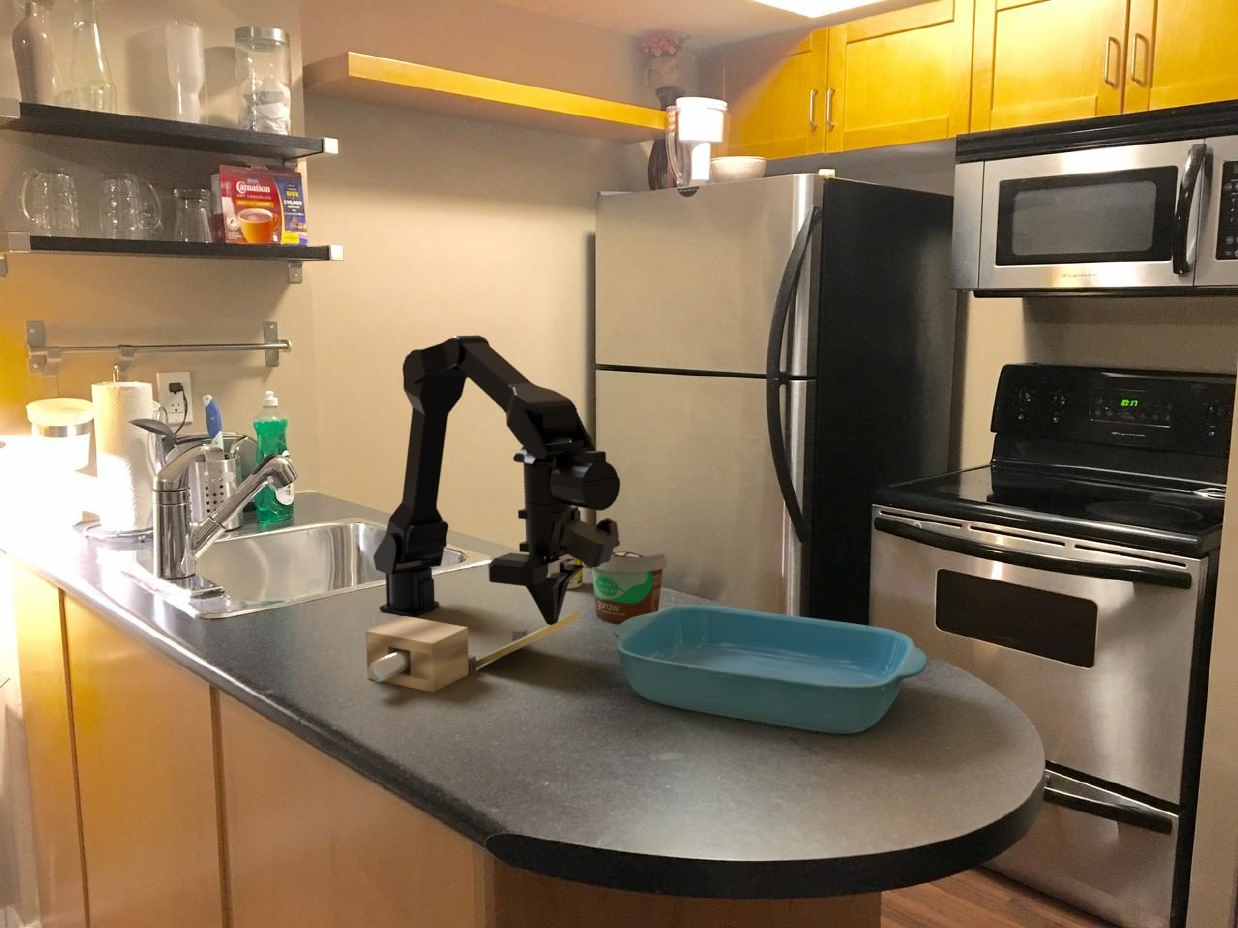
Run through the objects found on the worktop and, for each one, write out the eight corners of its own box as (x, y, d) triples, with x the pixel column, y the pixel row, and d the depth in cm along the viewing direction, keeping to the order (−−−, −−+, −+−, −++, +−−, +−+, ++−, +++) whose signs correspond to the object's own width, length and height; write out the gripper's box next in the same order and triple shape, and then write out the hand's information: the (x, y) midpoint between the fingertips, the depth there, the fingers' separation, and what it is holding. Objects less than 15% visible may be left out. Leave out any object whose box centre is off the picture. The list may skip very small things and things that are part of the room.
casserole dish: (580, 702, 122) (580, 643, 121) (656, 645, 142) (656, 594, 141) (905, 763, 106) (908, 695, 105) (938, 689, 126) (942, 632, 125)
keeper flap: (474, 668, 131) (471, 662, 131) (518, 645, 140) (515, 640, 140) (539, 639, 126) (536, 633, 126) (580, 617, 135) (578, 611, 135)
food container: (571, 619, 152) (571, 551, 151) (592, 608, 158) (592, 543, 156) (647, 632, 147) (648, 562, 145) (666, 620, 152) (667, 552, 150)
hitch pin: (362, 686, 124) (361, 650, 123) (431, 653, 135) (430, 620, 134) (392, 693, 122) (391, 656, 121) (459, 659, 133) (458, 625, 132)
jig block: (367, 678, 128) (365, 630, 127) (404, 660, 135) (403, 615, 134) (433, 692, 124) (432, 643, 123) (468, 674, 130) (467, 627, 129)
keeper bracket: (461, 671, 131) (460, 656, 130) (516, 642, 142) (516, 628, 141) (471, 673, 130) (471, 658, 130) (526, 644, 141) (526, 630, 141)
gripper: (566, 518, 117) (570, 654, 119) (640, 492, 133) (643, 612, 136) (483, 512, 122) (488, 642, 124) (565, 487, 138) (568, 602, 141)
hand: (552, 624), depth 131 cm, fingers closed, pressing on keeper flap
